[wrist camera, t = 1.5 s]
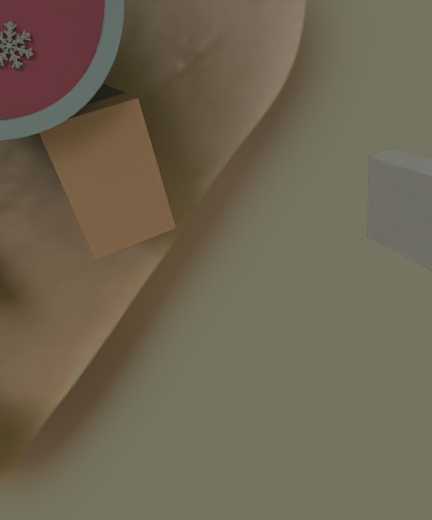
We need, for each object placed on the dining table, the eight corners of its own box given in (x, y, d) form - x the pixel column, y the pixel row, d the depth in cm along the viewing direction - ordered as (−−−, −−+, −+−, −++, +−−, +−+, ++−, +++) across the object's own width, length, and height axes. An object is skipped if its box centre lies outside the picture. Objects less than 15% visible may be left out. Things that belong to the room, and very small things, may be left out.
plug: (25, 100, 22) (37, 128, 15) (95, 80, 23) (138, 98, 16) (69, 198, 25) (95, 260, 18) (128, 177, 26) (175, 228, 19)
